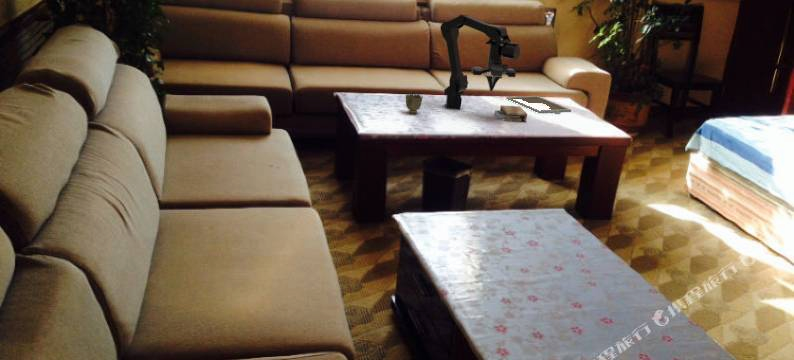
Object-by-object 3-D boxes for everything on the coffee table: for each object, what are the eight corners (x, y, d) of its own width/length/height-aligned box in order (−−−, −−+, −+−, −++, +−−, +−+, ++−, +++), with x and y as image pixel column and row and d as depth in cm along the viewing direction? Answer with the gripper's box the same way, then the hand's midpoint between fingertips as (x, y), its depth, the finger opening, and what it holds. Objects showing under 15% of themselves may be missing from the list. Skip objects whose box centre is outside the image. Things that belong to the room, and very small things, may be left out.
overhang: (506, 121, 285) (507, 112, 284) (499, 113, 297) (500, 105, 296) (526, 122, 286) (527, 114, 284) (518, 114, 298) (519, 106, 297)
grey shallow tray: (497, 119, 287) (498, 114, 286) (494, 114, 295) (494, 110, 294) (519, 120, 288) (520, 116, 287) (515, 115, 295) (516, 111, 295)
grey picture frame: (537, 95, 333) (575, 111, 308) (536, 98, 333) (574, 114, 308) (506, 97, 325) (542, 112, 300) (505, 100, 325) (542, 116, 300)
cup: (423, 115, 284) (425, 97, 282) (408, 115, 282) (409, 97, 279) (417, 110, 291) (418, 93, 288) (401, 111, 288) (403, 93, 285)
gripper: (477, 57, 272) (473, 94, 278) (521, 60, 274) (516, 96, 279) (473, 53, 283) (469, 88, 288) (514, 55, 284) (510, 90, 290)
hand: (491, 91), depth 286 cm, fingers closed
